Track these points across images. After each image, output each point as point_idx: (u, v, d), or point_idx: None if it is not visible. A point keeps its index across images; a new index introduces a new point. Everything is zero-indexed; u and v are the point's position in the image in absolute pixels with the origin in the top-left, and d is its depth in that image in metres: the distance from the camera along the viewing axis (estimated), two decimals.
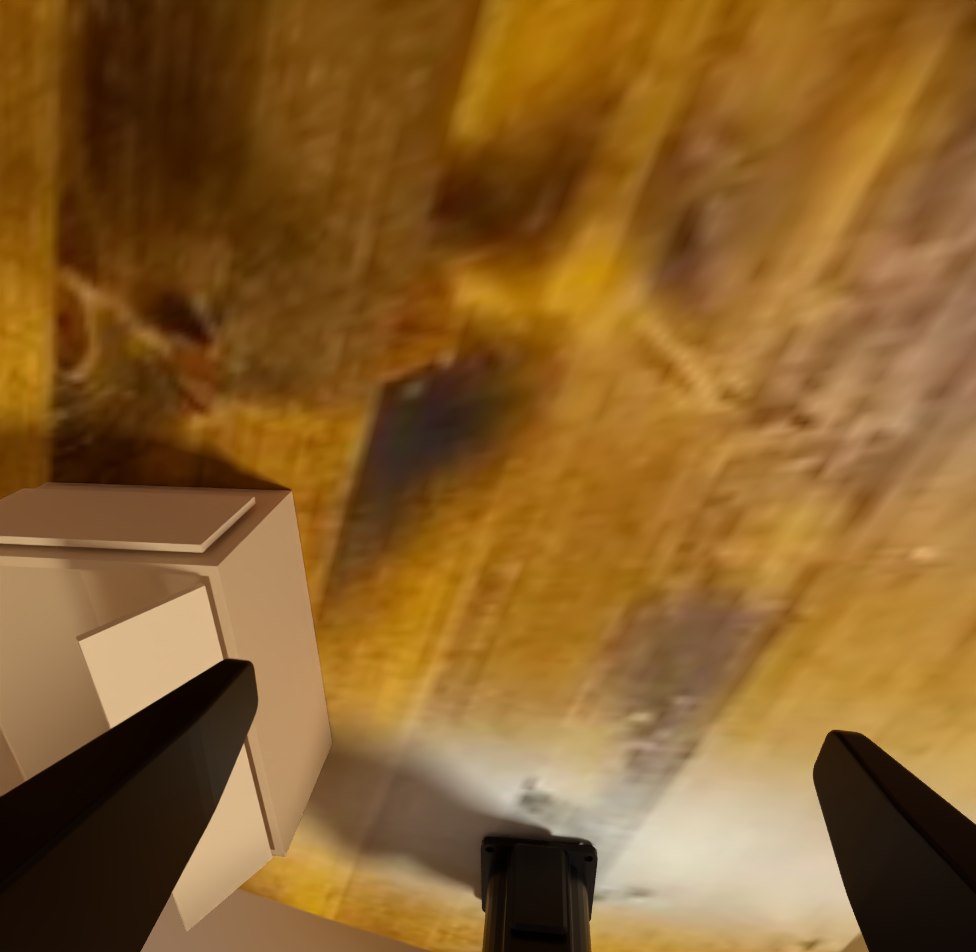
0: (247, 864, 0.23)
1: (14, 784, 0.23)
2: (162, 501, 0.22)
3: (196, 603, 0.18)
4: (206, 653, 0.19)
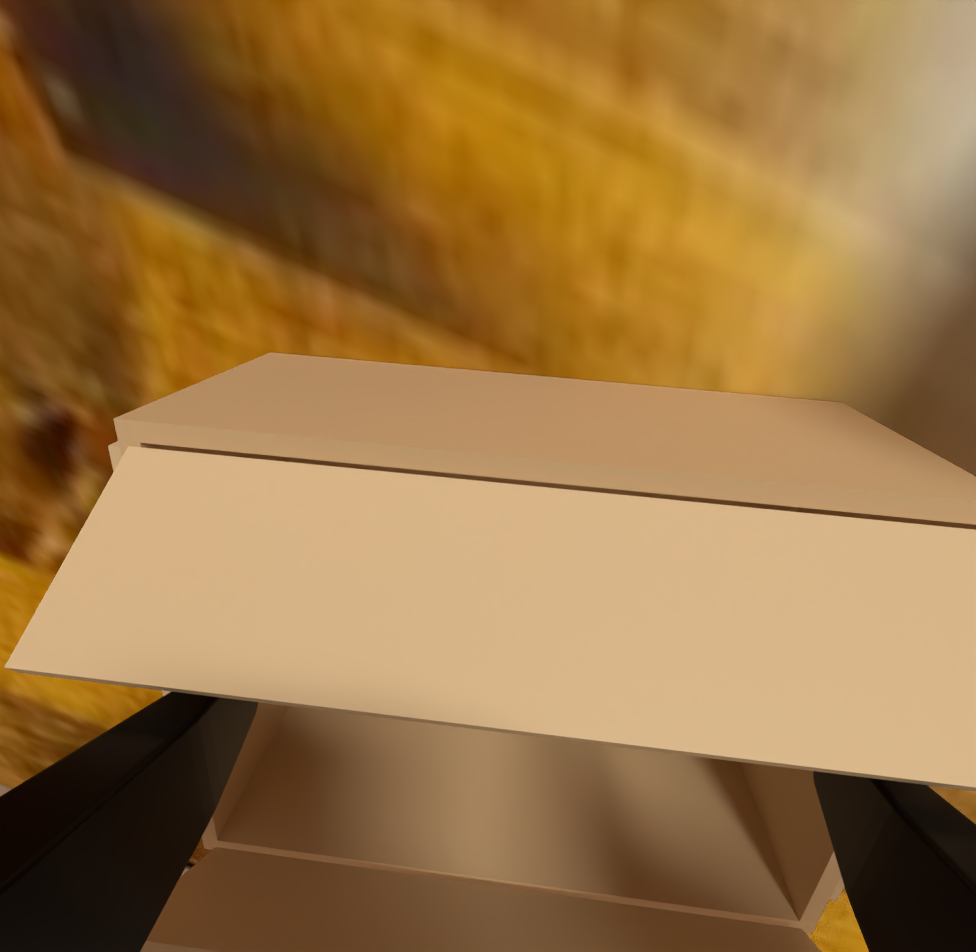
0: None
1: (633, 924, 0.12)
2: None
3: (147, 468, 0.09)
4: (266, 485, 0.09)
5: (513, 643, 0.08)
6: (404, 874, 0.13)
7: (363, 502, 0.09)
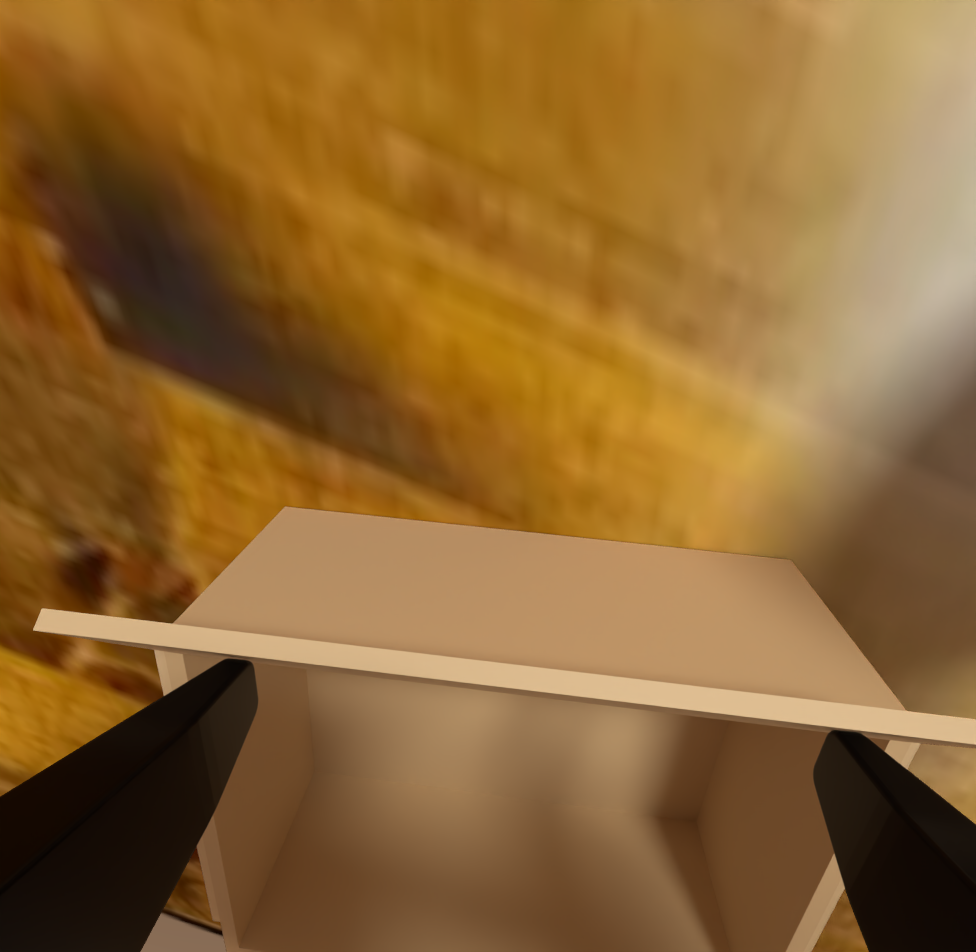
0: None
1: None
2: None
3: None
4: None
5: None
6: None
7: None
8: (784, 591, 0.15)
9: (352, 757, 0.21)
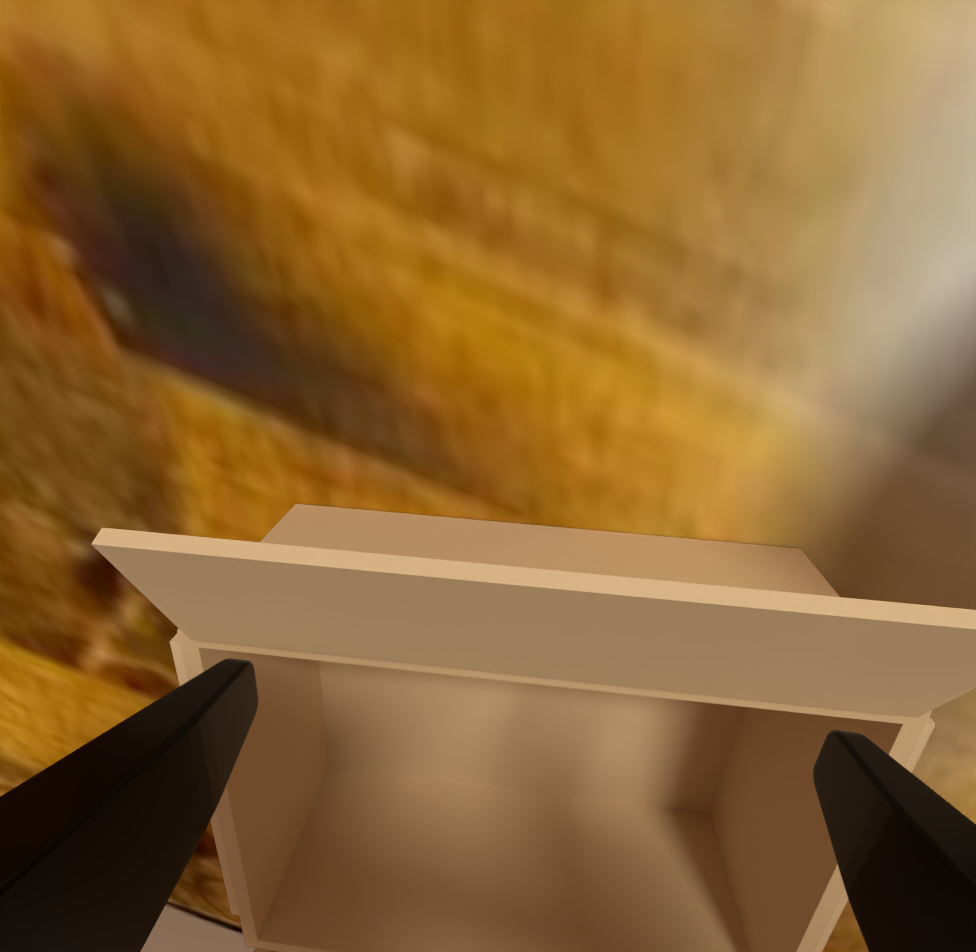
0: None
1: None
2: None
3: None
4: None
5: None
6: None
7: None
8: (794, 579, 0.15)
9: (366, 752, 0.21)
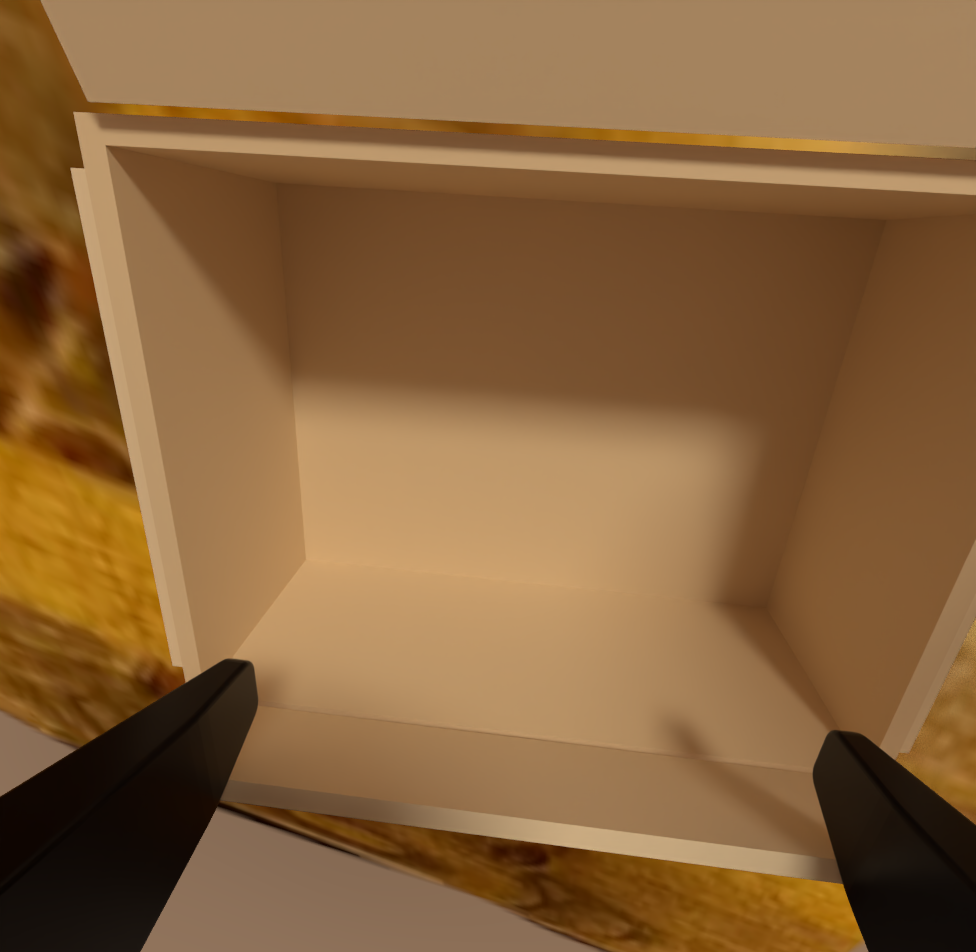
0: None
1: (679, 770, 0.11)
2: None
3: None
4: None
5: None
6: (415, 725, 0.12)
7: None
8: None
9: (351, 536, 0.17)
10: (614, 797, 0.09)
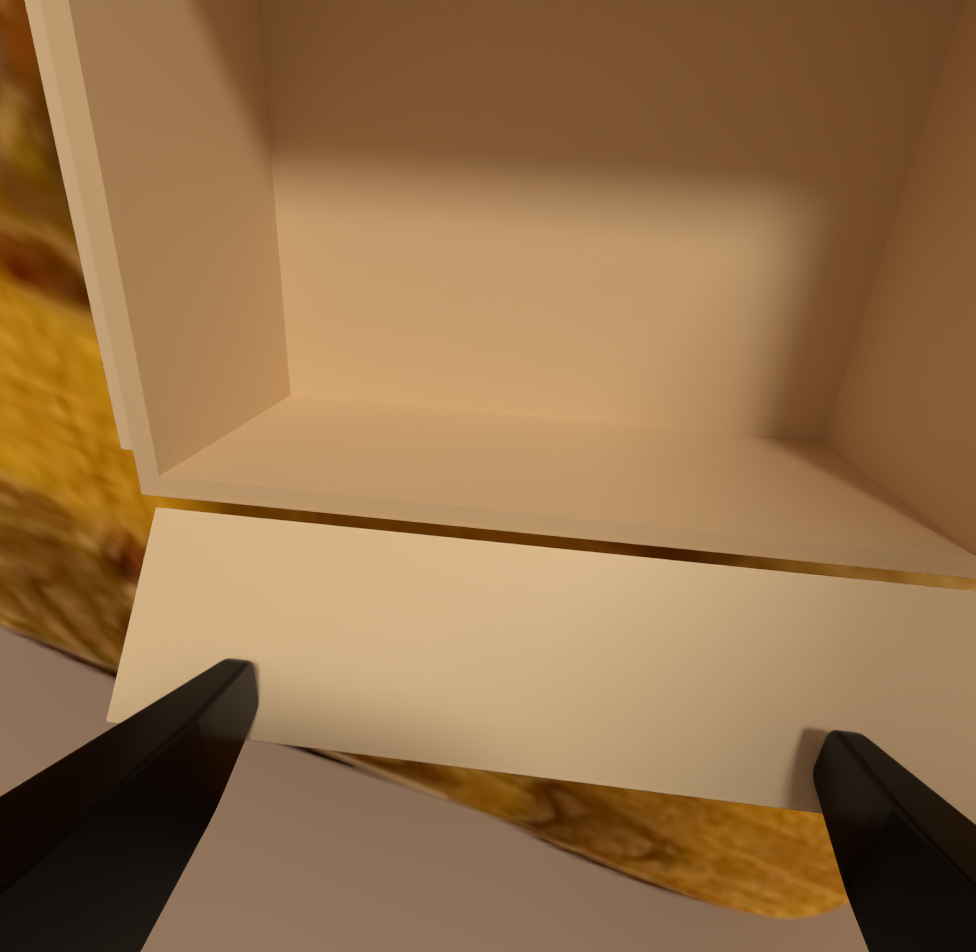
0: None
1: (724, 615, 0.09)
2: None
3: None
4: None
5: None
6: (415, 536, 0.10)
7: None
8: None
9: (342, 363, 0.15)
10: (626, 708, 0.09)
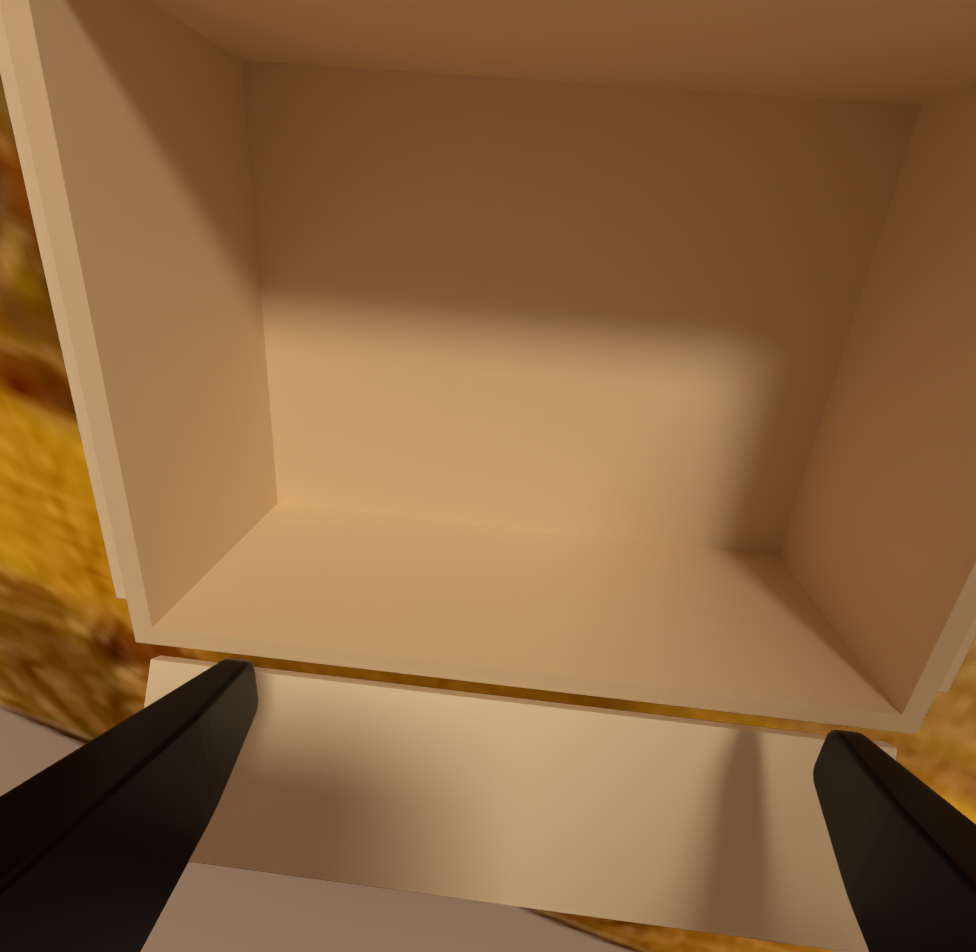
0: None
1: (669, 766, 0.10)
2: None
3: None
4: None
5: None
6: (391, 690, 0.11)
7: None
8: None
9: (327, 476, 0.16)
10: (578, 847, 0.10)
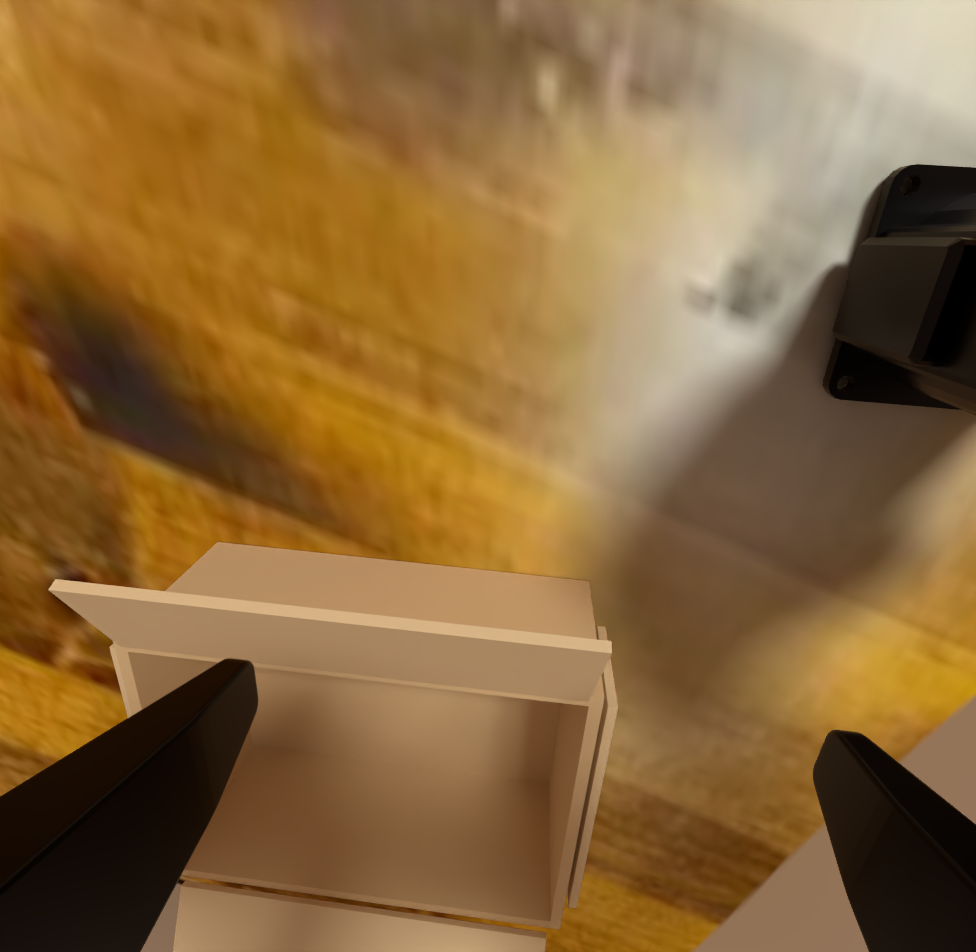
0: None
1: (436, 945, 0.21)
2: None
3: None
4: None
5: None
6: (300, 904, 0.21)
7: None
8: (569, 605, 0.20)
9: (280, 734, 0.26)
10: None
